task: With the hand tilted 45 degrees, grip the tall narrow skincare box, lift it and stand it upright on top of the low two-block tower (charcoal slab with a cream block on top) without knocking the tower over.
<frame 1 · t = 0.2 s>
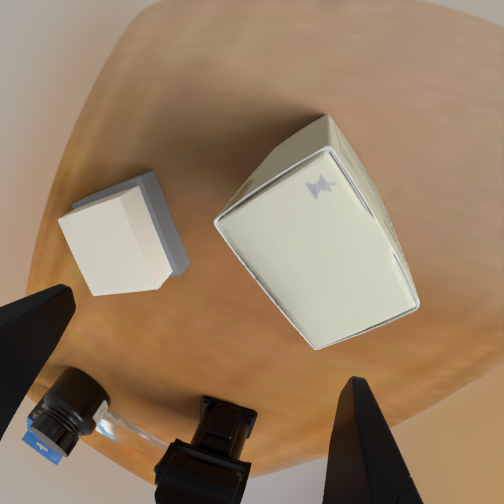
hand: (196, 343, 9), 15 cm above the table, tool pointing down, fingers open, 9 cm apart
skincare box: (328, 170, 20), on the table
ink bottle: (88, 386, 42), on the table
tower bottom: (137, 225, 26), on the table, touching tower top
tower top: (121, 238, 24), point 2 cm above the table, touching tower bottom
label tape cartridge: (69, 403, 49), on the table
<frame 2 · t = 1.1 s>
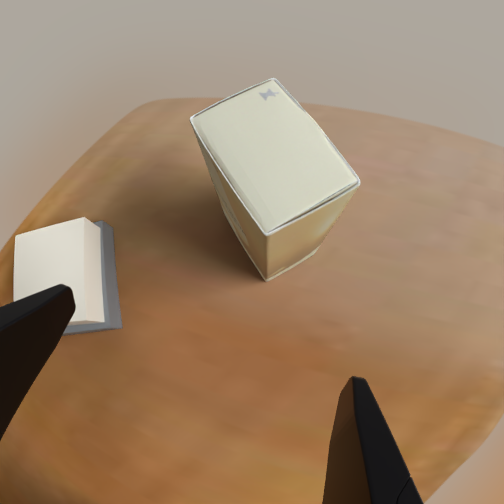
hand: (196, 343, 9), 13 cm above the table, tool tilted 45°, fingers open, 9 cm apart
skincare box: (270, 235, 24), on the table
tower bottom: (79, 285, 24), on the table, touching tower top
tower top: (64, 279, 22), point 2 cm above the table, touching tower bottom
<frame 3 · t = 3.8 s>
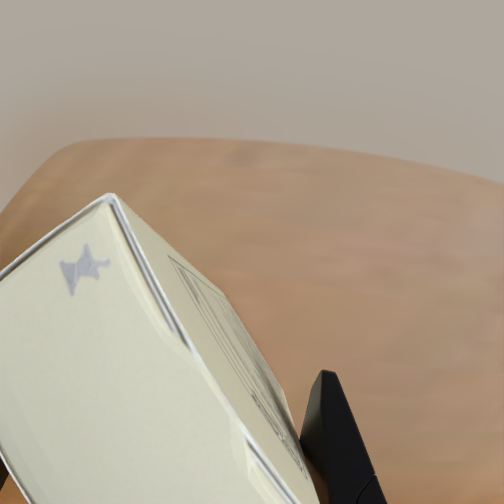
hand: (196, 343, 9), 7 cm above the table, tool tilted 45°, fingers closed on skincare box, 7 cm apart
skincare box: (218, 366, 15), on the table, touching gripper
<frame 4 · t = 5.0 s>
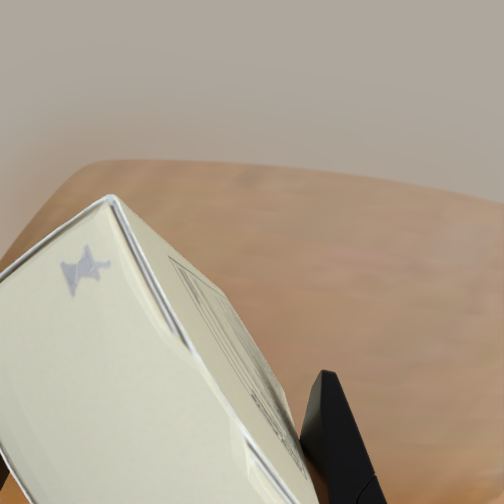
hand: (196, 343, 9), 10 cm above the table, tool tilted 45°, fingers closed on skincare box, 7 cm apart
skincare box: (219, 365, 15), point 3 cm above the table, touching gripper
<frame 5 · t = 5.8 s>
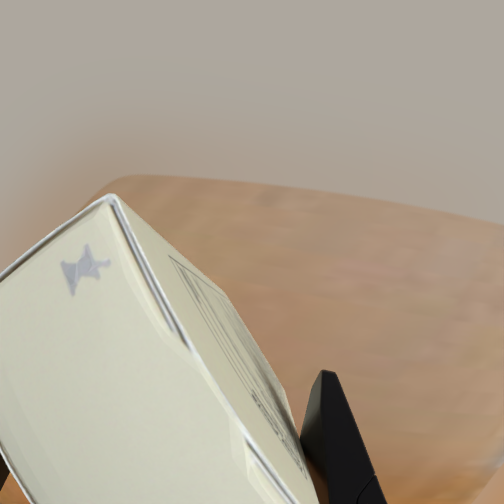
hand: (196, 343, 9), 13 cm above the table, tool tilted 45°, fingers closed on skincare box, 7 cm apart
skincare box: (219, 365, 15), point 6 cm above the table, touching gripper
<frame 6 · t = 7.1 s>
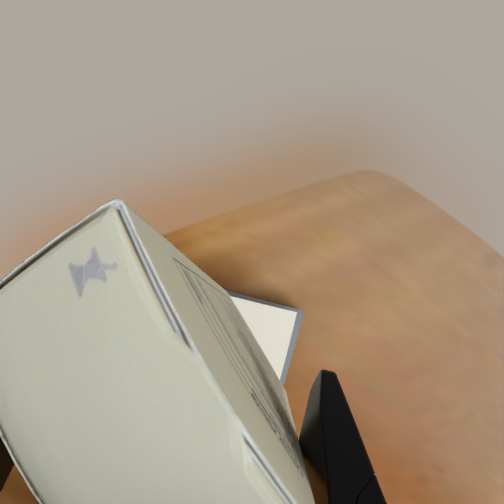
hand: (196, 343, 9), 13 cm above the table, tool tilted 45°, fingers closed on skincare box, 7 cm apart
skincare box: (221, 364, 15), point 6 cm above the table, touching gripper
tower bottom: (230, 352, 22), on the table, touching tower top
tower top: (226, 354, 20), point 2 cm above the table, touching tower bottom
when the fingers open (12 cm above the table, at t = 8.0 s): skincare box stays where it is, resting on tower top.
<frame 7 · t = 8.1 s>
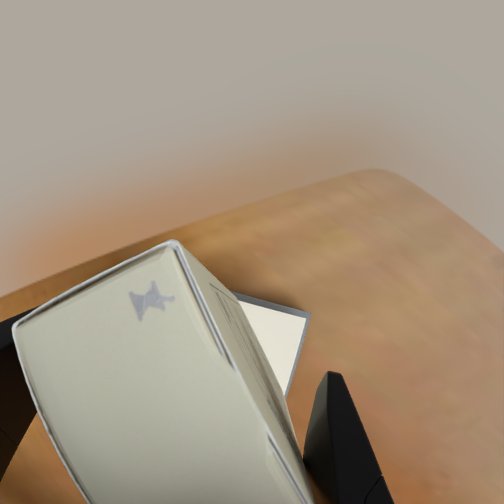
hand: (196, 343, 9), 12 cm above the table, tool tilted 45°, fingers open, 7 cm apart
skincare box: (226, 364, 17), point 4 cm above the table, touching tower top
tower bottom: (233, 355, 21), on the table, touching tower top
tower top: (230, 359, 19), point 2 cm above the table, touching skincare box, tower bottom
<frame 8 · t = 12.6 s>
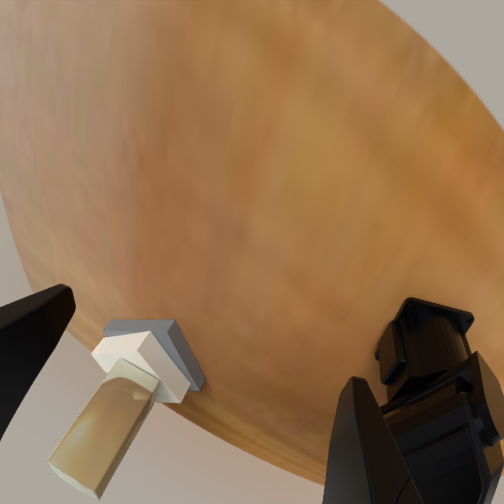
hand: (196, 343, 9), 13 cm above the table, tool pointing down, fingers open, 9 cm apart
skincare box: (138, 381, 27), point 4 cm above the table, touching tower top
tower bottom: (160, 345, 31), on the table
tower top: (145, 361, 29), point 2 cm above the table, touching skincare box
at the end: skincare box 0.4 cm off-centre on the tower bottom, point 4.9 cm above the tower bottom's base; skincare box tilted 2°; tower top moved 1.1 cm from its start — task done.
